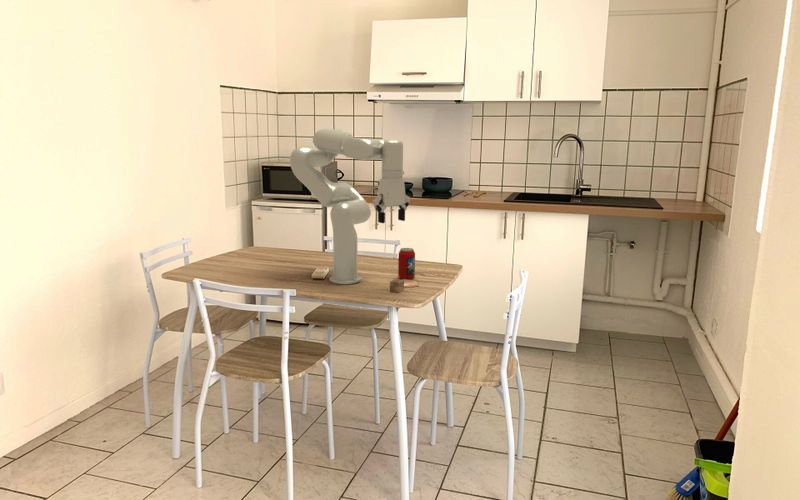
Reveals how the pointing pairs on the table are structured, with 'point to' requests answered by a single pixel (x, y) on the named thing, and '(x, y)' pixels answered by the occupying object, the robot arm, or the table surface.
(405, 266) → the beverage can
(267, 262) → the table surface
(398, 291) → the walnut block
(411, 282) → the coaster
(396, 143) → the robot arm
